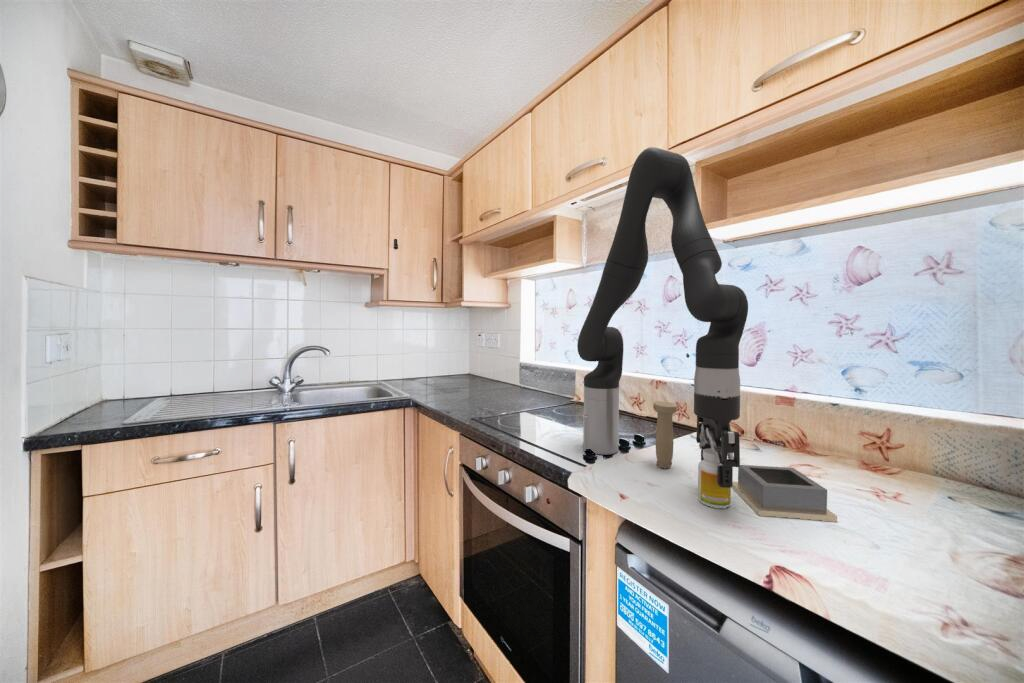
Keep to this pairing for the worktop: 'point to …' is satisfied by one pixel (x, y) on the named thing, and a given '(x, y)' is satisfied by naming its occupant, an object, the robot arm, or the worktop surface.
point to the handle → (664, 433)
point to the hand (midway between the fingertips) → (715, 477)
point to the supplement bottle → (711, 483)
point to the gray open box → (782, 493)
